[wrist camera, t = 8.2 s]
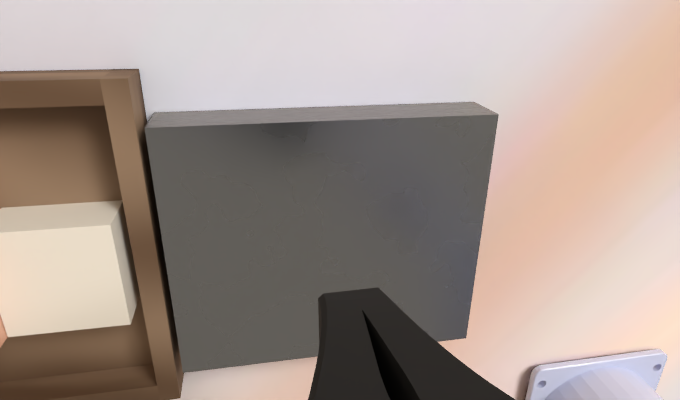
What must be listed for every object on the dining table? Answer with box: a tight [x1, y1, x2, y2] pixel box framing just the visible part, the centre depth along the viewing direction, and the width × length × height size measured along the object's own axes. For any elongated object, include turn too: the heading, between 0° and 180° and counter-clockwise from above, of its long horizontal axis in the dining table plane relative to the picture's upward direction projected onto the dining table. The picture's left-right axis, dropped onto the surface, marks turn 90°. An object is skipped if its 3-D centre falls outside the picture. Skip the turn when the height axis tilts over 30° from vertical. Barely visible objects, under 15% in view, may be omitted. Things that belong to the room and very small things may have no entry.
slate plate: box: [145, 102, 498, 373], centre depth 19 cm, size 10×12×2 cm
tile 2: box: [0, 200, 140, 337], centre depth 17 cm, size 4×4×2 cm
